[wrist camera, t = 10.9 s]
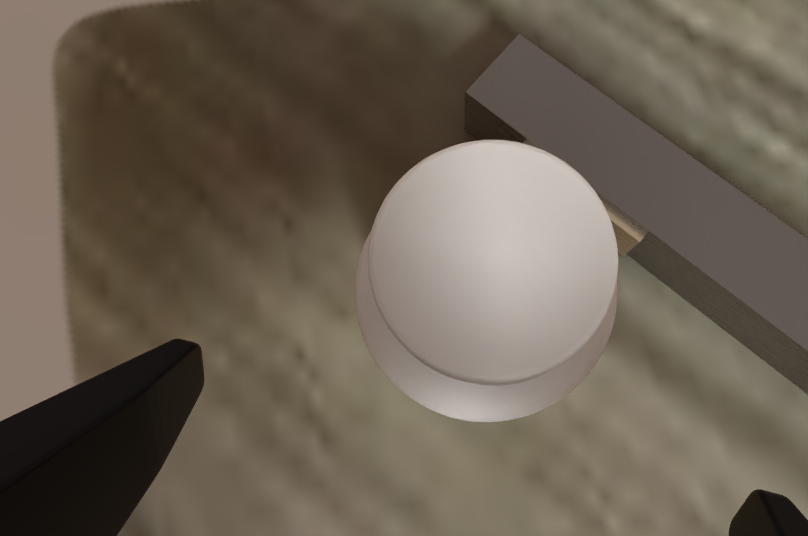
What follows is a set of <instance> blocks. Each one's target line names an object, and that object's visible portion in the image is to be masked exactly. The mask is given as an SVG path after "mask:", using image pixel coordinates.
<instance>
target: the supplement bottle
mask: <svg viewBox="0 0 808 536" xmlns="http://www.w3.org/2000/svg"><path fill="white" fill-rule="evenodd" d="M617 274H618V248H617V242H616V237H615V233H614V229H613V225H612V223H611V220H610V218H609V215H608V213H607V211H606V209H605V207H604V205H603V203H602V201H601V200H600V198H599V197H598V195H597V194H596V192H595V191H594V189H593V188H592V187H591V186H590V184H589V183H588V182H587V181H586V180H585V179H584V178H583V177H582V176H581V175H580V174H579V173H578V172H577V171H576V170H575V169H574V168H572V167H571V166H570V165H568V164H567V163H566V162H564V161H563V160H561V159H560V158H558V157H556V156H554V155H552V154H550V153H548V152H546V151H544V150H542V149H539V148H536V147H534V146H531V145H527V144H523V143H520V142H515V141H508V140H478V141H471V142H466V143H461V144H457V145H454V146H450V147H448V148H445V149H443V150H441V151H439V152H436V153H434V154H432V155H430V156H428V157H427V158H425V159H423V160H422V161H421V162H419V163H418V164H416V165H415V166H414V167H412V168H411V169H410V170H409V171H408V172H407V173H406V174H405V175H403V176H402V178H401V179H400V180H399V181H398V182H397V183H396V184H395V185H394V187H393V188H392V189H391V191H390V192H389V193H388V194H387V196H386V198H385V199H384V201H383V203H382V205H381V207H380V209H379V211H378V213H377V215H376V218H375V221H374V224H373V227H372V229H371V232H370V234H369V235H368V237H367V239H366V241H365V244H364V246H363V249H362V252H361V255H360V259H359V263H358V268H357V273H356V282H355V304H356V311H357V316H358V321H359V325H360V328H361V332H362V335H363V337H364V340H365V342H366V345H367V347H368V349H369V351H370V353H371V355H372V357H373V358H374V360H375V361H376V363H377V365H378V366H379V367H380V369H381V370H382V371H383V373H384V374H385V375H386V376H387V377H388V378H389V379H390V381H391V382H392V383H393V384H394V385H395V386H396V387H397V388H399V389H400V390H401V391H402V392H403V393H405V394H406V395H407V396H408V397H410V398H411V399H413V400H414V401H416V402H417V403H419V404H421V405H423V406H424V407H426V408H428V409H430V410H432V411H435V412H437V413H439V414H442V415H445V416H448V417H452V418H456V419H461V420H467V421H475V422H497V421H506V420H513V419H517V418H521V417H524V416H528V415H531V414H534V413H536V412H538V411H540V410H543V409H545V408H547V407H549V406H551V405H553V404H554V403H556V402H557V401H559V400H561V399H562V398H564V397H565V396H566V395H568V394H569V393H570V392H571V391H572V390H574V389H575V388H576V387H577V386H578V385H579V384H580V383H581V382H582V381H583V380H584V378H585V377H586V376H587V375H588V374H589V373H590V371H591V370H592V368H593V367H594V366H595V364H596V362H597V361H598V359H599V358H600V356H601V354H602V353H603V350H604V348H605V346H606V344H607V342H608V340H609V337H610V334H611V331H612V328H613V324H614V320H615V315H616V306H617Z"/></svg>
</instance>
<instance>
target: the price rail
mask: <svg viewBox="0 0 808 536" xmlns="http://www.w3.org/2000/svg"><path fill="white" fill-rule="evenodd" d="M465 129H466V130H467V131H468V132H470V133H471V134H472V135H473V136H475V137H476V138H477V139H479V140H508V141H515V142H520V143H523V144H527V145H531V146H534V147H536V148H539V149H542V150H544V151H546V152H548V153H550V154H552V155H554V156H556V157H558V158H560V159H561V160H563V161H564V162H566V163H567V164H568V165H570V166H571V167H572V168H574V169H575V170H576V171H577V172H578V173H579V174H580V175H581V176H582V177H583V178H584V179H585V180H586V181H587V182H588V183H589V184H590V186H591V187H592V188H593V189H594V191H595V192H596V194H597V195H598V197H599V198H600V200H601V201H602V203H603V205H604V207H605V209H606V211H607V213H608V215H609V218H610V220H611V223H612V225H613V229H614V233H615V237H616V242H617V248H618V254H619V255H621V256H622V257H623V256H624V255H625V254H627V255H628V256H630V257H631V258H632V259H634V260H635V261H636V262H638V263H639V264H640V265H641V266H643V267H644V268H645V269H647V270H648V271H649V272H650V273H652V274H653V275H654V276H656V277H657V278H658V279H659V280H661V281H662V282H663V283H665V284H666V285H667V286H669V287H670V288H671V289H672V290H674V291H675V292H676V293H678V294H679V295H680V296H681V297H683V298H684V299H685V300H687V301H688V302H689V303H690V304H692V305H693V306H694V307H696V308H697V309H698V310H700V311H701V312H702V313H703V314H705V315H706V316H707V317H709V318H710V319H711V320H712V321H714V322H715V323H716V324H718V325H719V326H720V327H721V328H723V329H724V330H725V331H727V332H728V333H729V334H731V335H732V336H733V337H734V338H736V339H737V340H738V341H740V342H741V343H742V344H743V345H745V346H746V347H747V348H749V349H750V350H751V351H752V352H754V353H755V354H756V355H758V356H759V357H760V358H762V359H763V360H764V361H765V362H767V363H768V364H769V365H771V366H772V367H773V368H774V369H776V370H777V371H778V372H780V373H781V374H782V375H783V376H785V377H786V378H787V379H789V380H790V381H791V382H793V383H794V384H795V385H796V386H798V387H799V388H800V389H802V390H803V391H804V392H805V393H807V394H808V239H807V238H805V237H804V236H803V235H801V234H800V233H798V232H797V231H796V230H794V229H793V228H791V227H790V226H789V225H787V224H786V223H784V222H783V221H781V220H780V219H779V218H777V217H776V216H774V215H773V214H772V213H770V212H769V211H767V210H766V209H765V208H763V207H762V206H760V205H759V204H758V203H756V202H755V201H753V200H752V199H751V198H749V197H748V196H746V195H745V194H744V193H742V192H741V191H739V190H738V189H737V188H735V187H734V186H732V185H731V184H730V183H728V182H727V181H725V180H724V179H722V178H721V177H720V176H718V175H717V174H715V173H714V172H713V171H711V170H710V169H708V168H707V167H706V166H704V165H703V164H701V163H700V162H699V161H697V160H696V159H694V158H693V157H692V156H690V155H689V154H687V153H686V152H685V151H683V150H682V149H680V148H679V147H678V146H676V145H675V144H673V143H672V142H671V141H669V140H668V139H666V138H665V137H664V136H662V135H661V134H659V133H658V132H656V131H655V130H654V129H652V128H651V127H649V126H648V125H647V124H645V123H644V122H642V121H641V120H640V119H638V118H637V117H635V116H634V115H633V114H631V113H630V112H628V111H627V110H626V109H624V108H623V107H621V106H620V105H619V104H617V103H616V102H614V101H613V100H612V99H610V98H609V97H607V96H606V95H605V94H603V93H602V92H600V91H599V90H597V89H596V88H595V87H593V86H592V85H590V84H589V83H588V82H586V81H585V80H583V79H582V78H581V77H579V76H578V75H576V74H575V73H574V72H572V71H571V70H569V69H568V68H567V67H565V66H564V65H562V64H561V63H560V62H558V61H557V60H555V59H554V58H553V57H551V56H550V55H548V54H547V53H546V52H544V51H543V50H541V49H540V48H539V47H537V46H536V45H534V44H533V43H531V42H530V41H529V40H527V39H526V38H524V37H523V36H522V35H520V34H518V36H517V37H516V38H515V39H514V40H513V41H512V42H511V43H510V44H509V45H508V46H507V47H506V49H505V50H504V51H503V52H502V53H501V54H500V55H499V56H498V57H497V58H496V59H495V60H494V62H493V63H492V64H491V65H490V66H489V67H488V68H487V69H486V70H485V71H484V72H483V73H482V75H481V76H480V77H479V78H478V79H477V80H476V81H475V82H474V83H473V84H472V85H471V86H470V88H469V89H468V90H467V91H466V92H465Z"/></svg>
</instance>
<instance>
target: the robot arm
mask: <svg viewBox="0 0 808 536" xmlns="http://www.w3.org/2000/svg"><path fill="white" fill-rule="evenodd" d="M203 385H204V369H203V360H202V351H201V347H200V346H199V344H197V343H194V342H190V341H186V340H183V339H174V340H171V341H169V342H167V343H165V344H163V345H160V346H158V347H156V348H154V349H152V350H150V351H148V352H146V353H144V354H141V355H139V356H137V357H135V358H133V359H131V360H129V361H127V362H125V363H122V364H120V365H118V366H116V367H114V368H112V369H110V370H108V371H106V372H103V373H101V374H99V375H97V376H95V377H93V378H91V379H89V380H87V381H84V382H82V383H80V384H78V385H76V386H74V387H72V388H70V389H68V390H66V391H63V392H61V393H59V394H57V395H55V396H53V397H51V398H49V399H47V400H44V401H42V402H40V403H38V404H36V405H34V406H32V407H30V408H28V409H25V410H23V411H21V412H19V413H17V414H15V415H13V416H11V417H9V418H7V419H4V420H3V421H1V422H0V536H117V535H118V533H119V532H120V530H121V529H122V527H123V526H124V524H125V523H126V521H127V520H128V518H129V517H130V515H131V514H132V512H133V511H134V509H135V508H136V506H137V505H138V503H139V502H140V500H141V498H142V497H143V495H144V494H145V492H146V491H147V489H148V488H149V486H150V485H151V483H152V482H153V480H154V479H155V477H156V476H157V474H158V472H159V471H160V469H161V468H162V466H163V464H164V462H165V460H166V459H167V457H168V455H169V453H170V451H171V449H172V447H173V445H174V443H175V441H176V439H177V438H178V436H179V434H180V432H181V430H182V428H183V426H184V424H185V422H186V420H187V418H188V416H189V414H190V413H191V411H192V409H193V407H194V405H195V403H196V401H197V399H198V397H199V395H200V393H201V391H202V388H203ZM729 536H808V520H807V519H806V518H805V517H804V515H803V514H802V513H801V512H800V511H799V510H798V509H797V507H796V506H795V505H794V504H793V503H792V502H791V501H790V500H789V499H788V498H787V497H785V496H783V495H780V494H776V493H772V492H768V491H765V490H761V489H757V490H754V491H753V492H752V493H751V494H750V495H749V496H748V498H747V499H746V501H745V502H744V503H743V505H742V506H741V508H740V509H739V511H738V512H737V513H736V515H735V516H734V518H733V519H732V521H731V524H730V528H729Z"/></svg>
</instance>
